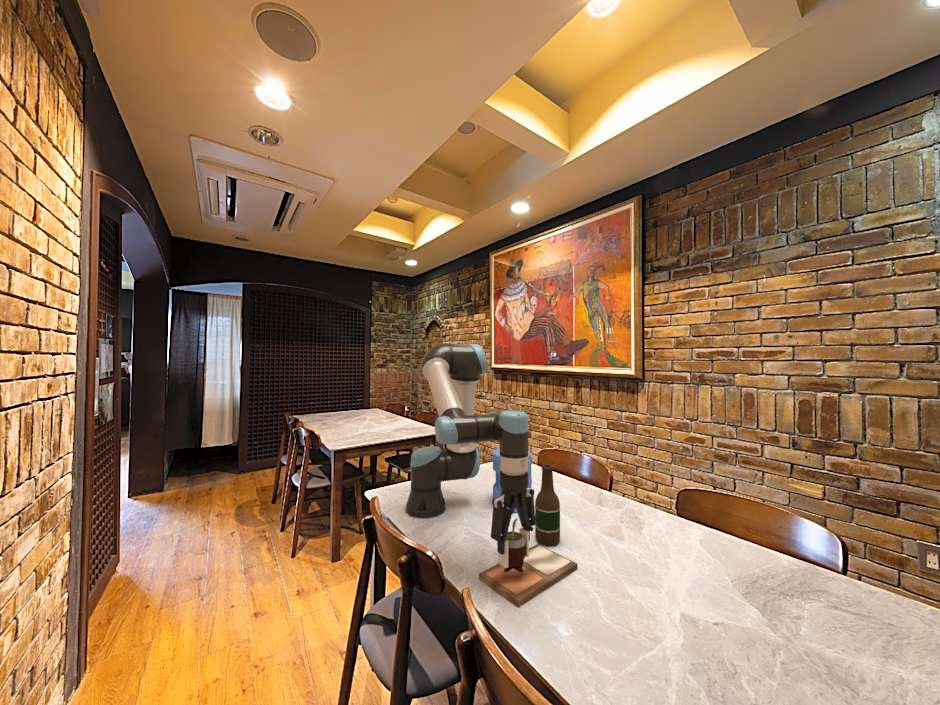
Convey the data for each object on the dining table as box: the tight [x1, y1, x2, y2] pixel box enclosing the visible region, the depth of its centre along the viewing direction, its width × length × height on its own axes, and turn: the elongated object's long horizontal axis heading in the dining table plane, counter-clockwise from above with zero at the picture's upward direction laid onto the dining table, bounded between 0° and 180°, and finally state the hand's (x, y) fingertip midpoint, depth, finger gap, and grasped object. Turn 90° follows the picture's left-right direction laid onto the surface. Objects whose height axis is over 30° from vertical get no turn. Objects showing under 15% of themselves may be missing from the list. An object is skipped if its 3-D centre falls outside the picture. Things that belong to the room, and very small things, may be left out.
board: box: [478, 543, 578, 608], centre depth 97 cm, size 14×24×2 cm, turn 130°
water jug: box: [491, 447, 533, 513], centre depth 144 cm, size 16×16×28 cm
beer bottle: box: [534, 464, 561, 548], centre depth 115 cm, size 8×8×24 cm
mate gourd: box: [504, 518, 527, 572], centre depth 93 cm, size 8×8×15 cm
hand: (514, 559), depth 93 cm, fingers closed on mate gourd, 7 cm apart
